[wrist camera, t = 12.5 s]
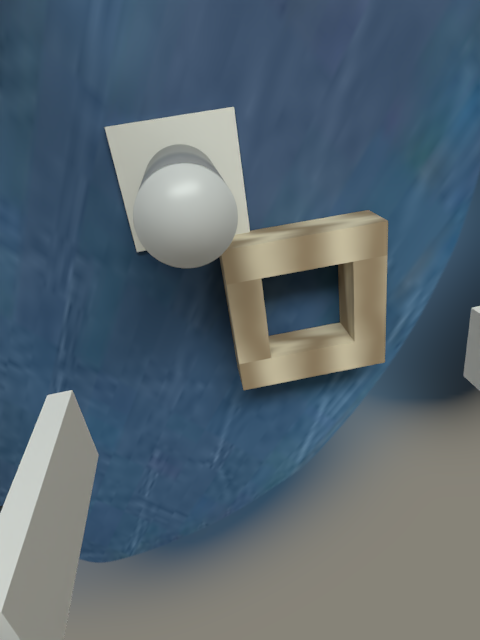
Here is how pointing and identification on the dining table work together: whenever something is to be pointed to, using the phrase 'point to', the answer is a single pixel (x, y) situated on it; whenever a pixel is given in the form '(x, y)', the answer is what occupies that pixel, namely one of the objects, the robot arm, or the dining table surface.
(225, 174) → the pad
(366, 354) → the housing
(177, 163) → the grey domed cylinder
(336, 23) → the dining table surface
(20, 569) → the robot arm
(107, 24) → the dining table surface
